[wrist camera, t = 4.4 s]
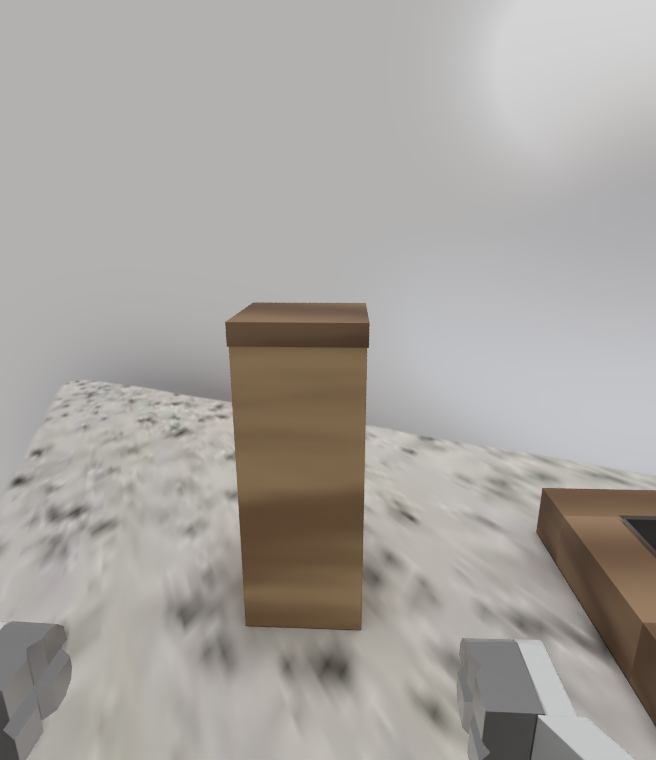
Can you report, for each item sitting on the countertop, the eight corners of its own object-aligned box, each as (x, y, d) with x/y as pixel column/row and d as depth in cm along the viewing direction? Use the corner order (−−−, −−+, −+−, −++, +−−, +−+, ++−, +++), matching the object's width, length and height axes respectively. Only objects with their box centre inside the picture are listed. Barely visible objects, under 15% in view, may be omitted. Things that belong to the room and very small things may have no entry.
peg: (362, 631, 19) (369, 323, 15) (244, 626, 19) (225, 321, 16) (360, 555, 23) (365, 303, 20) (264, 553, 23) (253, 302, 20)
